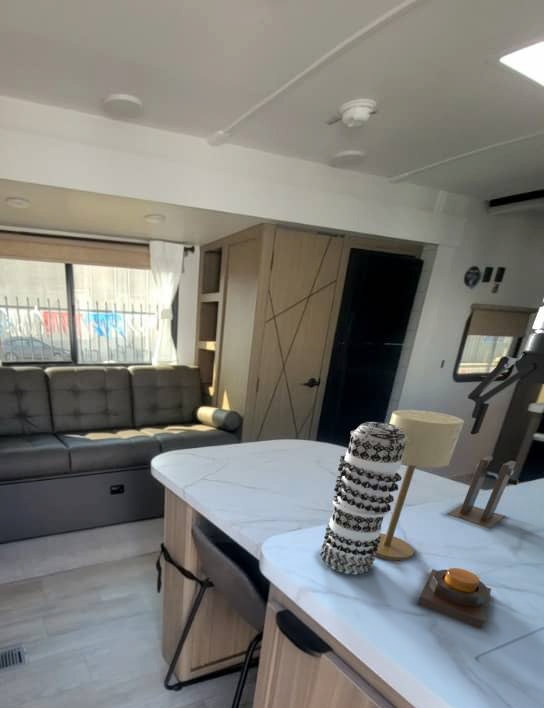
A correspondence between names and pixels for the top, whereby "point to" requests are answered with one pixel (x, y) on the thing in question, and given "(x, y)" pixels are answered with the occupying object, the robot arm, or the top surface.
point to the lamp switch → (497, 472)
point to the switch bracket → (488, 515)
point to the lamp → (418, 464)
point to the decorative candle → (363, 496)
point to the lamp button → (461, 579)
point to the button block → (455, 600)
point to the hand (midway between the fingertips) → (511, 440)
